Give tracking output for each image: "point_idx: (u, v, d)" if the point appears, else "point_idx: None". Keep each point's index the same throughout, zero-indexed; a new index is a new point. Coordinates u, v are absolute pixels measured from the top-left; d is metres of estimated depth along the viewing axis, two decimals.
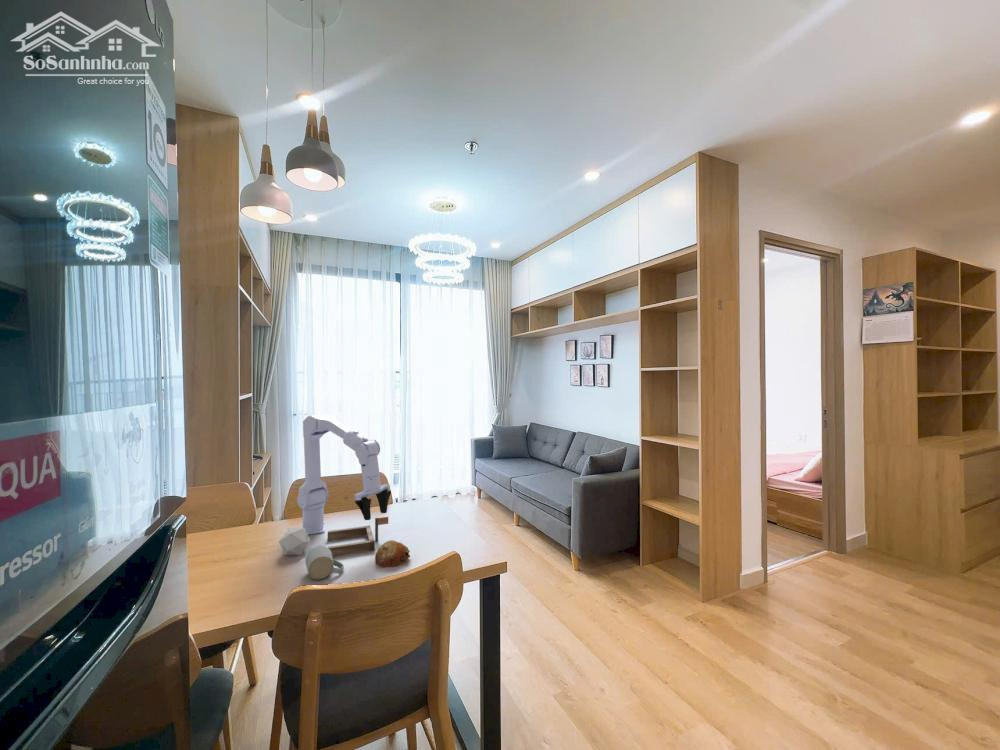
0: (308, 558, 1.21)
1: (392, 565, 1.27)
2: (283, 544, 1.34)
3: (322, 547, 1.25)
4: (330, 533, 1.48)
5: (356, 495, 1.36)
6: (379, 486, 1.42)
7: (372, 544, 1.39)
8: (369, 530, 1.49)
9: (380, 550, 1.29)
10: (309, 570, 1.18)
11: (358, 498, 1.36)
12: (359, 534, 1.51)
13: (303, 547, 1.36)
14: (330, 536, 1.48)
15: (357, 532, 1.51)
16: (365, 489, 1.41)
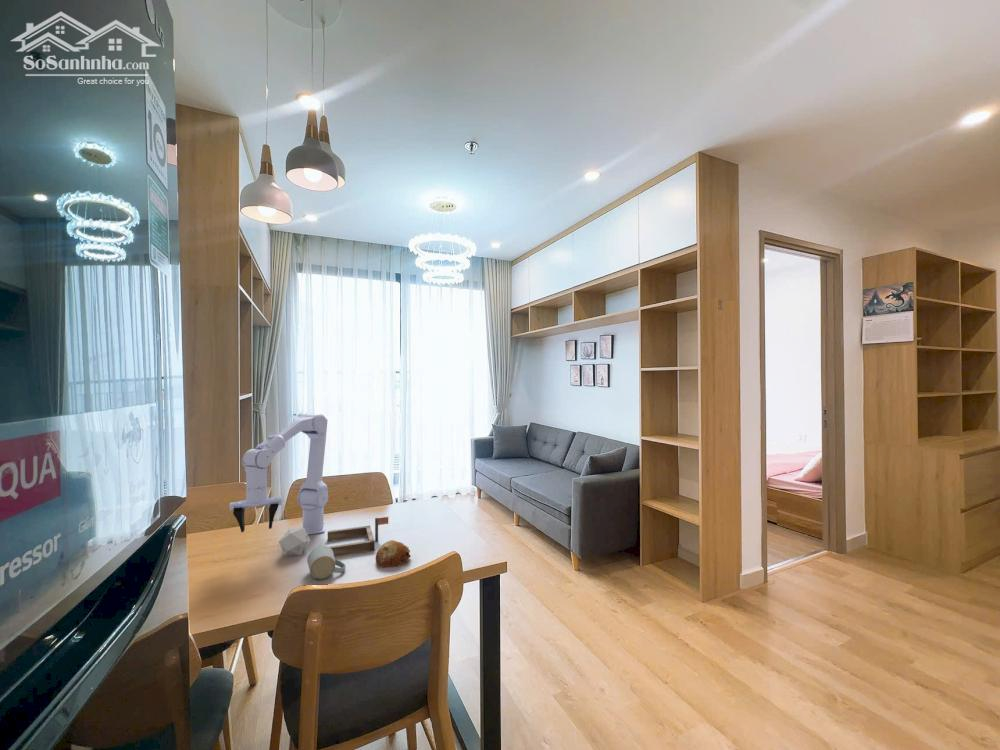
0: (310, 558, 1.21)
1: (393, 565, 1.28)
2: (283, 544, 1.34)
3: (324, 547, 1.25)
4: (330, 533, 1.48)
5: (230, 504, 1.30)
6: (257, 500, 1.31)
7: (372, 544, 1.39)
8: (369, 530, 1.49)
9: (381, 550, 1.29)
10: (311, 570, 1.18)
11: None
12: (359, 534, 1.51)
13: (303, 547, 1.36)
14: (330, 536, 1.48)
15: (357, 532, 1.51)
16: None
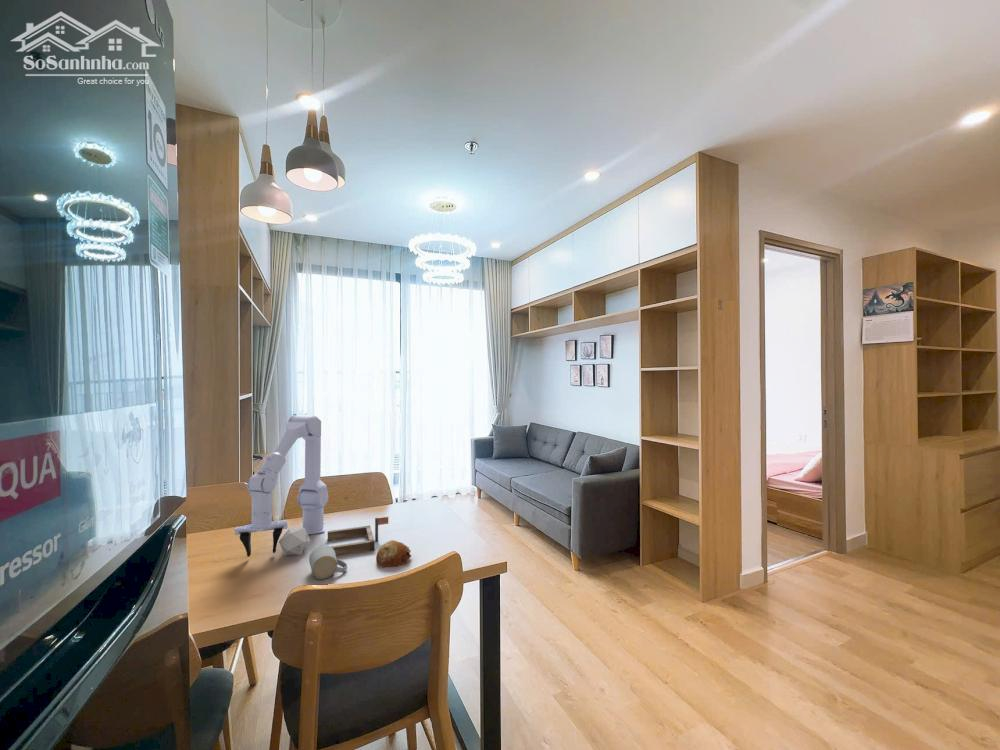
0: (312, 558, 1.21)
1: (393, 565, 1.28)
2: (283, 544, 1.34)
3: (326, 546, 1.25)
4: (330, 533, 1.48)
5: None
6: (262, 525, 1.31)
7: (372, 544, 1.39)
8: (369, 530, 1.49)
9: (381, 550, 1.29)
10: (313, 569, 1.18)
11: (235, 533, 1.30)
12: (359, 534, 1.51)
13: (303, 547, 1.36)
14: (330, 536, 1.48)
15: (357, 532, 1.51)
16: None
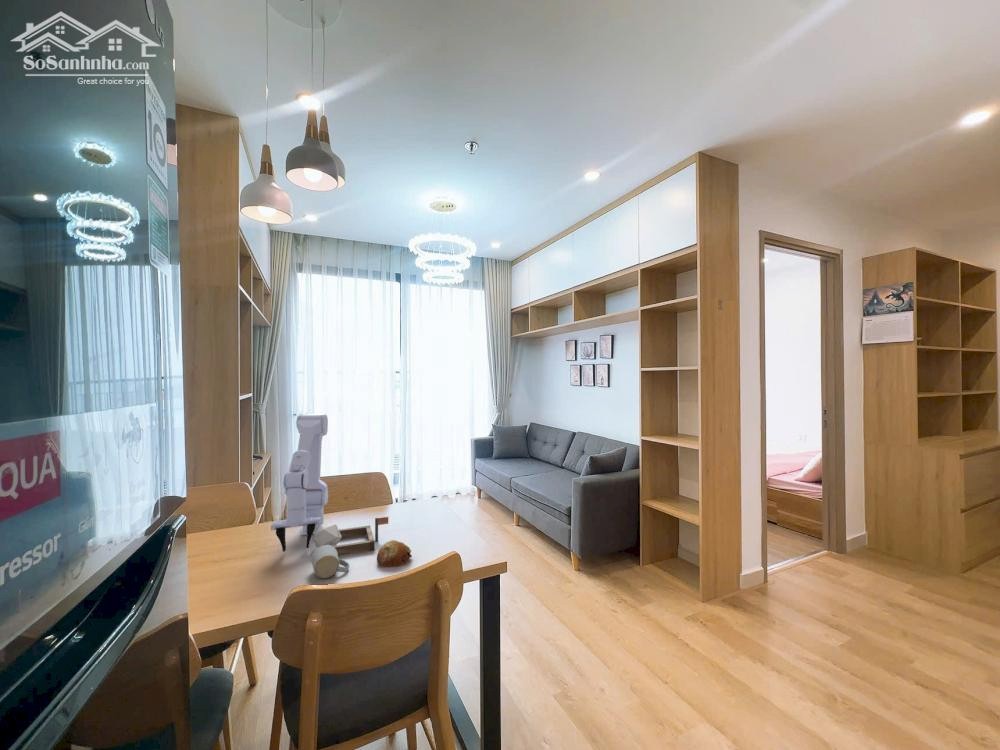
0: (314, 557, 1.22)
1: (394, 565, 1.28)
2: (316, 539, 1.38)
3: (328, 546, 1.26)
4: None
5: (271, 524, 1.35)
6: (297, 521, 1.35)
7: (372, 544, 1.39)
8: (369, 530, 1.49)
9: (382, 550, 1.29)
10: (315, 569, 1.19)
11: (271, 528, 1.34)
12: (359, 534, 1.51)
13: (335, 542, 1.40)
14: None
15: (357, 532, 1.51)
16: None
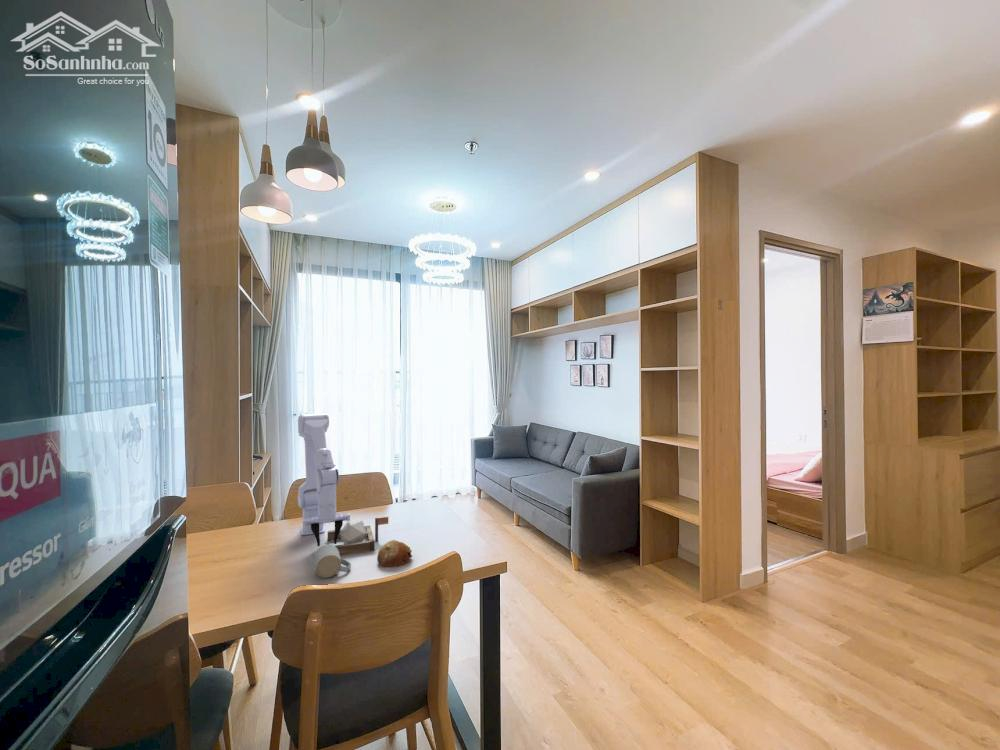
0: (316, 557, 1.22)
1: (394, 565, 1.28)
2: (344, 535, 1.41)
3: (329, 546, 1.26)
4: (330, 533, 1.48)
5: None
6: (328, 517, 1.39)
7: (372, 544, 1.39)
8: (369, 530, 1.49)
9: (382, 550, 1.29)
10: (317, 568, 1.19)
11: None
12: None
13: (362, 538, 1.43)
14: (330, 536, 1.48)
15: None
16: None
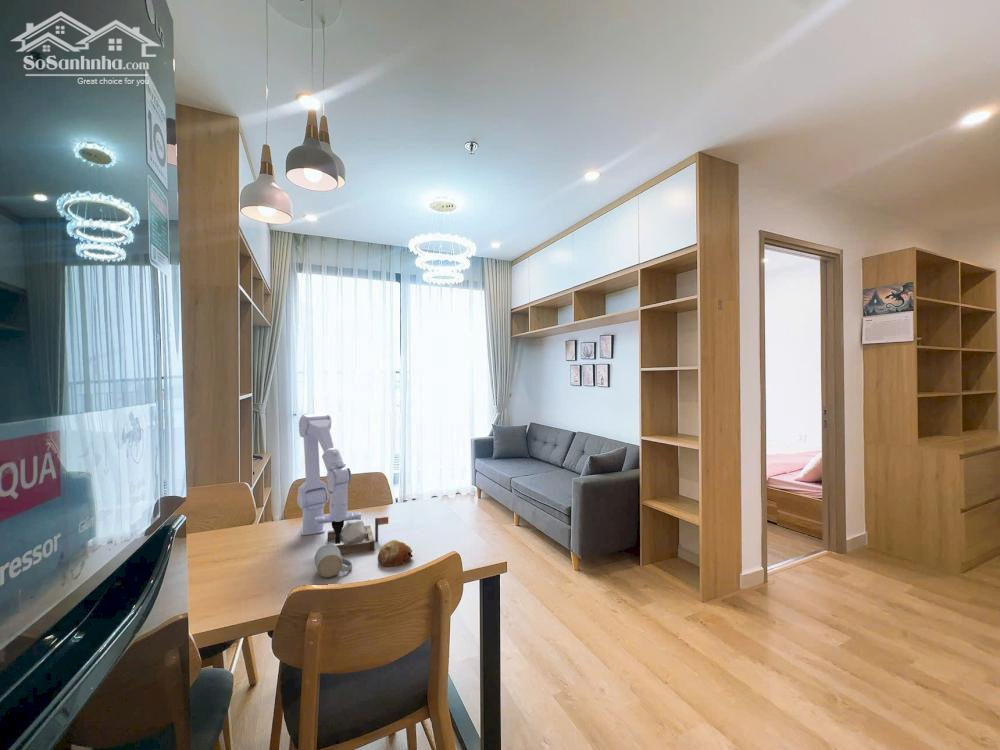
0: (317, 557, 1.22)
1: (395, 565, 1.28)
2: (344, 535, 1.41)
3: (331, 545, 1.26)
4: (330, 533, 1.48)
5: (315, 519, 1.40)
6: (340, 516, 1.40)
7: (372, 544, 1.39)
8: (369, 530, 1.49)
9: (383, 550, 1.29)
10: (318, 568, 1.19)
11: (315, 522, 1.39)
12: None
13: (362, 538, 1.43)
14: (330, 536, 1.48)
15: None
16: None
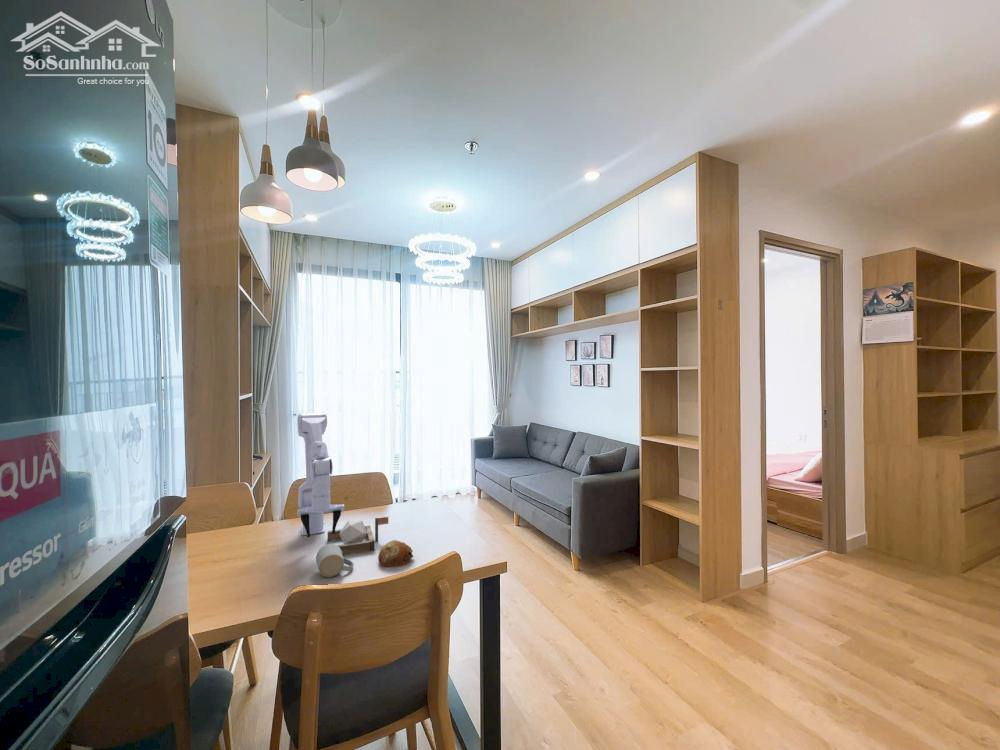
0: (319, 556, 1.22)
1: (395, 565, 1.28)
2: (344, 535, 1.41)
3: (332, 545, 1.26)
4: (330, 533, 1.48)
5: (297, 511, 1.38)
6: (322, 507, 1.38)
7: (372, 544, 1.39)
8: (369, 530, 1.49)
9: (383, 550, 1.29)
10: (320, 568, 1.19)
11: (297, 514, 1.37)
12: None
13: (362, 538, 1.43)
14: (330, 536, 1.48)
15: None
16: None
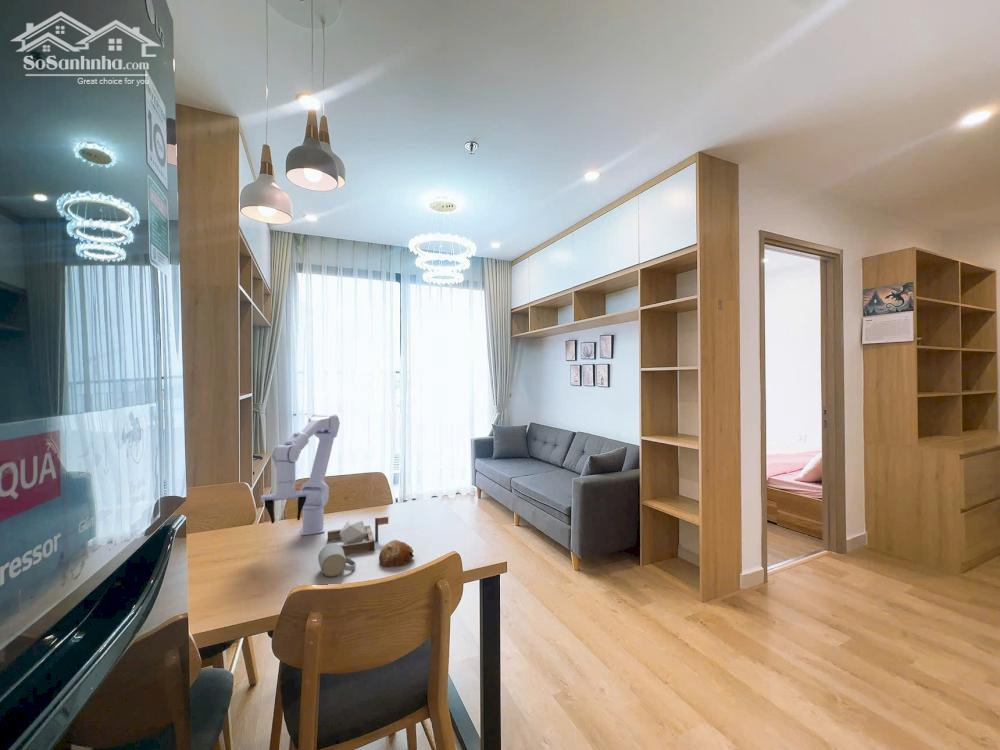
0: (321, 556, 1.23)
1: (396, 565, 1.28)
2: (344, 535, 1.41)
3: (334, 545, 1.26)
4: (330, 533, 1.48)
5: None
6: (287, 493, 1.38)
7: (372, 544, 1.39)
8: (369, 530, 1.49)
9: (384, 550, 1.29)
10: (322, 567, 1.20)
11: (261, 500, 1.37)
12: None
13: (362, 538, 1.43)
14: (330, 536, 1.48)
15: None
16: None
